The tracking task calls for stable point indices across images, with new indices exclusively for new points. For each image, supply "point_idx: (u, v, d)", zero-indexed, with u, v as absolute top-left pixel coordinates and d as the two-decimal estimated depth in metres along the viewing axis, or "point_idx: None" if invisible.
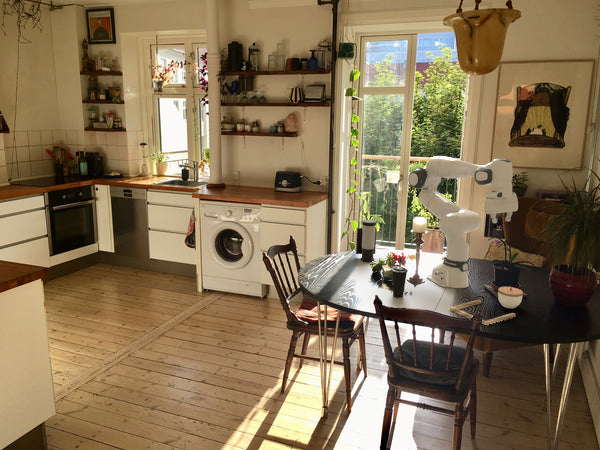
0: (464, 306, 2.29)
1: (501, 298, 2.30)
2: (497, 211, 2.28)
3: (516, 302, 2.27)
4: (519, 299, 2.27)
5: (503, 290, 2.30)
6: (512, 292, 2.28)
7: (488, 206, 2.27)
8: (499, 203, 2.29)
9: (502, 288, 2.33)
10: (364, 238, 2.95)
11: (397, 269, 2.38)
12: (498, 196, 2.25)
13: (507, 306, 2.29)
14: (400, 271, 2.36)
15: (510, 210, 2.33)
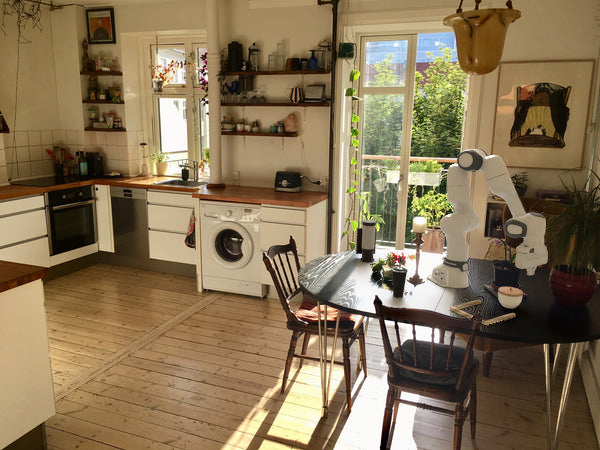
0: (464, 306, 2.29)
1: (501, 298, 2.30)
2: (528, 266, 2.30)
3: (516, 302, 2.27)
4: (519, 299, 2.27)
5: (503, 290, 2.30)
6: (512, 292, 2.28)
7: (520, 261, 2.29)
8: (530, 258, 2.31)
9: (502, 288, 2.33)
10: (364, 238, 2.95)
11: (397, 269, 2.38)
12: (530, 252, 2.27)
13: (507, 306, 2.29)
14: (400, 271, 2.36)
15: (540, 263, 2.35)
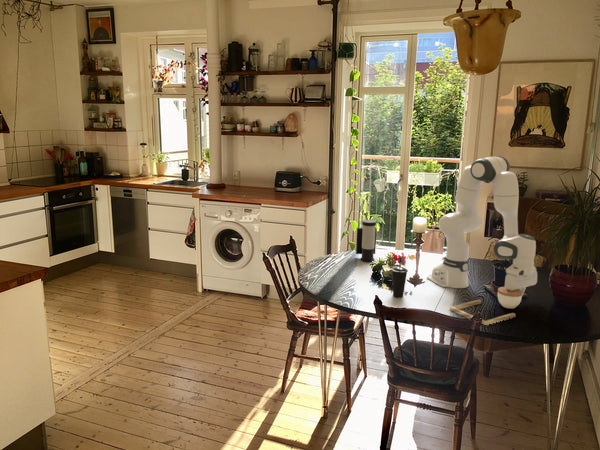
0: (464, 306, 2.29)
1: (500, 298, 2.29)
2: (517, 287, 2.30)
3: (515, 302, 2.27)
4: (518, 299, 2.27)
5: (502, 290, 2.30)
6: (511, 291, 2.28)
7: (509, 283, 2.28)
8: (520, 280, 2.30)
9: (502, 288, 2.33)
10: (364, 238, 2.95)
11: (397, 269, 2.38)
12: (520, 274, 2.26)
13: (506, 306, 2.29)
14: (400, 271, 2.36)
15: (529, 285, 2.35)
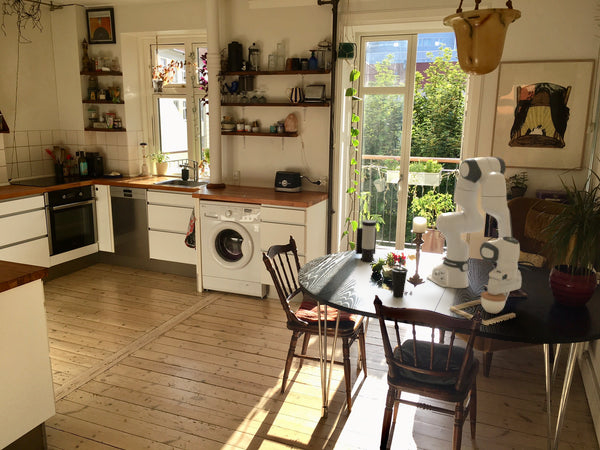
0: (464, 306, 2.29)
1: (484, 303, 2.23)
2: (500, 292, 2.24)
3: (499, 307, 2.20)
4: (502, 304, 2.21)
5: (486, 294, 2.24)
6: (494, 296, 2.22)
7: (492, 287, 2.22)
8: (503, 284, 2.24)
9: (485, 292, 2.26)
10: (364, 238, 2.95)
11: (397, 269, 2.38)
12: (503, 278, 2.20)
13: (490, 311, 2.23)
14: (400, 271, 2.36)
15: (513, 289, 2.29)
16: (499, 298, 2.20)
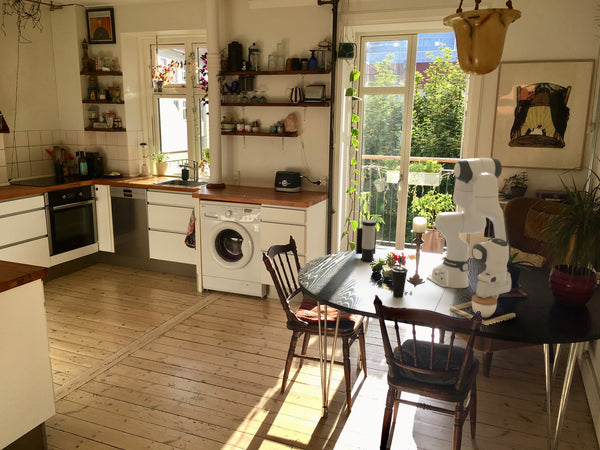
0: (464, 306, 2.29)
1: (476, 307, 2.18)
2: (489, 295, 2.20)
3: (492, 311, 2.16)
4: (494, 307, 2.17)
5: (478, 299, 2.18)
6: (487, 300, 2.17)
7: (481, 290, 2.18)
8: (492, 287, 2.20)
9: (475, 296, 2.21)
10: (364, 238, 2.95)
11: (397, 269, 2.38)
12: (492, 281, 2.17)
13: (482, 315, 2.18)
14: (400, 271, 2.36)
15: (503, 292, 2.25)
16: (492, 302, 2.16)
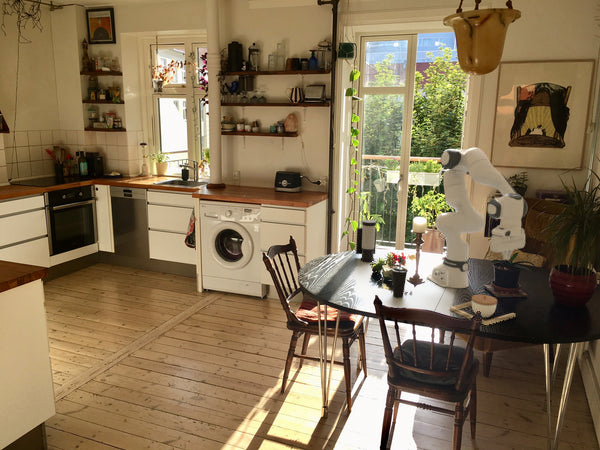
0: (464, 306, 2.29)
1: (476, 308, 2.18)
2: (503, 249, 2.19)
3: (492, 311, 2.16)
4: (494, 307, 2.17)
5: (477, 299, 2.18)
6: (486, 300, 2.17)
7: (495, 244, 2.17)
8: (506, 241, 2.19)
9: (475, 297, 2.21)
10: (364, 238, 2.95)
11: (397, 269, 2.38)
12: (506, 235, 2.15)
13: (482, 315, 2.18)
14: (400, 271, 2.36)
15: (517, 247, 2.24)
16: (492, 302, 2.16)
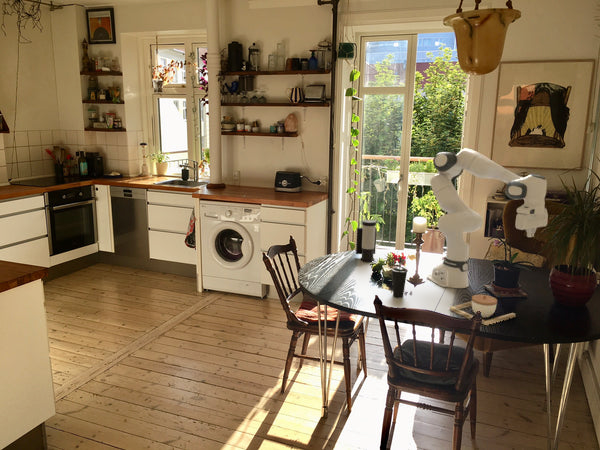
0: (464, 306, 2.29)
1: (476, 308, 2.18)
2: (528, 227, 2.32)
3: (492, 311, 2.16)
4: (494, 307, 2.17)
5: (477, 299, 2.18)
6: (486, 300, 2.17)
7: (520, 222, 2.30)
8: (530, 219, 2.32)
9: (475, 297, 2.21)
10: (364, 238, 2.95)
11: (397, 269, 2.38)
12: (530, 213, 2.28)
13: (482, 315, 2.18)
14: (400, 271, 2.36)
15: (540, 225, 2.36)
16: (492, 302, 2.16)
